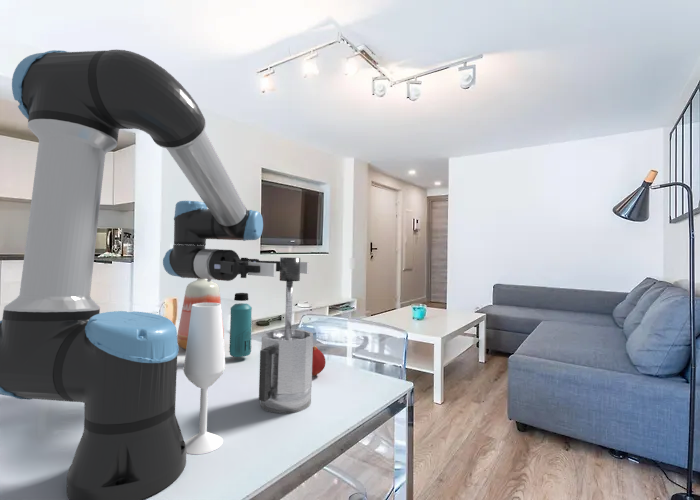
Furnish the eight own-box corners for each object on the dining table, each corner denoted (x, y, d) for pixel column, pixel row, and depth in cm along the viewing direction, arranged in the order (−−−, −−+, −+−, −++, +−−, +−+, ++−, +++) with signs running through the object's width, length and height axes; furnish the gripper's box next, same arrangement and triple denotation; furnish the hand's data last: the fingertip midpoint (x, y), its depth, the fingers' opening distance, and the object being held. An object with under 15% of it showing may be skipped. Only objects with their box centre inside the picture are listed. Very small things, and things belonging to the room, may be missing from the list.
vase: (213, 340, 133) (215, 258, 133) (231, 349, 122) (233, 259, 122) (170, 346, 123) (173, 257, 123) (185, 356, 112) (188, 259, 112)
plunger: (293, 352, 76) (296, 258, 76) (261, 347, 80) (264, 257, 80) (312, 343, 84) (315, 258, 84) (282, 339, 87) (285, 256, 87)
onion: (307, 371, 103) (308, 342, 103) (327, 373, 102) (328, 344, 102) (300, 378, 97) (301, 347, 97) (321, 380, 96) (322, 349, 96)
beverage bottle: (244, 362, 108) (246, 294, 108) (224, 360, 110) (226, 293, 110) (254, 356, 115) (256, 292, 115) (235, 354, 116) (237, 291, 116)
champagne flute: (181, 437, 65) (185, 302, 65) (221, 431, 68) (225, 301, 68) (181, 457, 59) (185, 308, 59) (225, 449, 62) (229, 307, 62)
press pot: (284, 424, 71) (286, 347, 71) (239, 412, 76) (241, 339, 76) (319, 398, 85) (321, 332, 84) (279, 389, 89) (281, 327, 89)
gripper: (250, 277, 102) (318, 282, 94) (175, 283, 79) (256, 290, 71) (251, 250, 102) (319, 252, 94) (177, 248, 79) (258, 251, 71)
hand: (292, 268), depth 82 cm, fingers open, 13 cm apart
